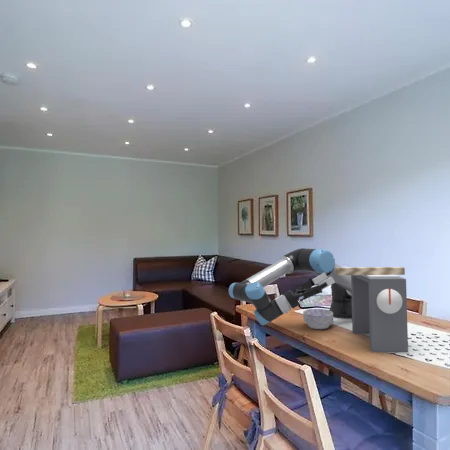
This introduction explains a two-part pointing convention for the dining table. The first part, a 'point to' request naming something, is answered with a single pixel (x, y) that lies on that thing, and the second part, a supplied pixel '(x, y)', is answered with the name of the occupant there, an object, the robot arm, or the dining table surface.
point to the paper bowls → (318, 318)
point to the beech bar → (370, 271)
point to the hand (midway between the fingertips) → (329, 277)
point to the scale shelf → (380, 311)
